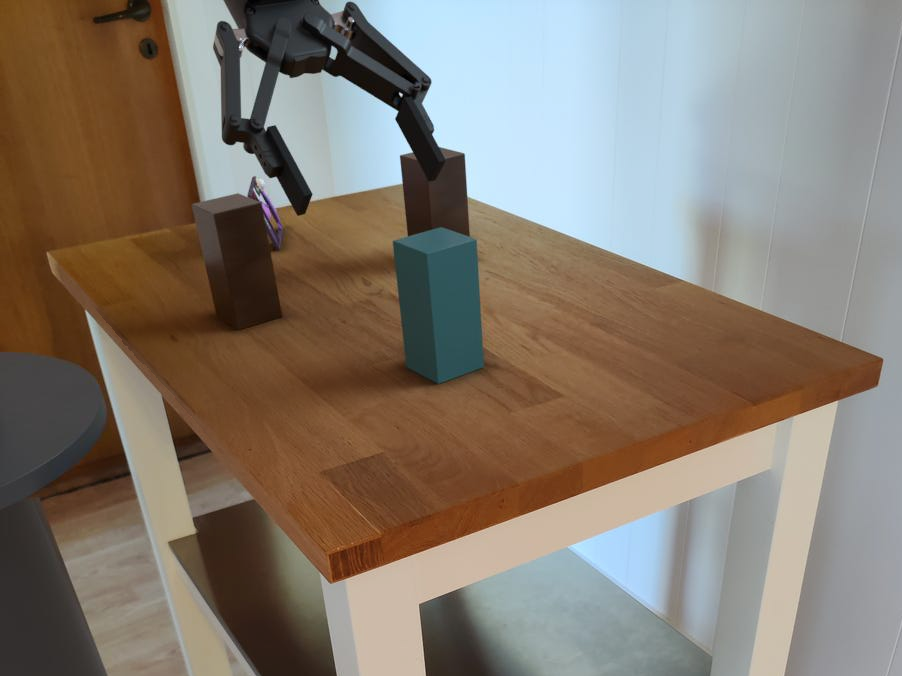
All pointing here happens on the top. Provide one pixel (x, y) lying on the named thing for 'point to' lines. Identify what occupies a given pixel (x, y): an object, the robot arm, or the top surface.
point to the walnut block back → (436, 195)
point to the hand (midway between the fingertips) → (373, 188)
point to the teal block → (439, 303)
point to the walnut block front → (238, 260)
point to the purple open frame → (266, 211)
